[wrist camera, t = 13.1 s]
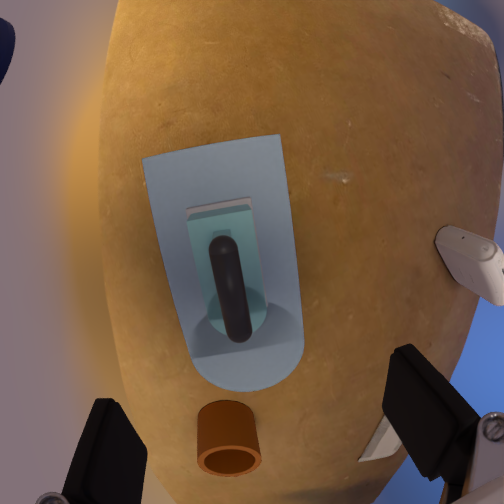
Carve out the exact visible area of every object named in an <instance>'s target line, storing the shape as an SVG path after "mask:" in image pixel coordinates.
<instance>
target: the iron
mask: <svg viewBox="0 0 504 504" xmlns="http://www.w3.org/2000/svg"><path fill="white" fill-rule="evenodd" d="M186 215H187V221H186V222H187V227H188V232H189V237H190V242H191V246H192V251H193V256H194V260H195V265H196V269H197V273H198V278H199V282H200V286H201V290H202V295H203V299H204V303H205V307H206V311H207V315H208V319H209V321H210V323H211V324H212V326H213V327H214V328H215V329H216V330H217V331H219V332H221V333H223V334H225V335H227V336H228V338H229V339H230V340H231V341H233V342H235V343H244V342H246V341H247V340H249V338H250V337H251V335H252V332H254V331H256V330H257V329H258V328H259V327H260V326H261V325H262V323H263V322H264V320H265V317H266V314H267V307H268V304H267V297H266V290H265V284H264V277H263V271H262V264H261V258H260V251H259V245H258V238H257V232H256V225H255V219H254V213H253V206H252V200H251V197H243V198H237V199H232V200H226V201H220V202H215V203H209V204H204V205H199V206H193V207H188V208H186Z"/></svg>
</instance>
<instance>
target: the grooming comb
mask: <svg viewBox="0 0 504 504" xmlns="http://www.w3.org/2000/svg"><path fill="white" fill-rule="evenodd" d="M384 417H386V416H385V415H384ZM384 417H383V418H382V419H384V420H381V421H382V422H381V423H380V424H381V425H379V427H380V428H377V429H378V431H375V432H376V434H374V436H375V437H373V438H372V439H373V440H371V441H370V444H368V445H367V448H368V450H367V449H365V450H364V451H365V454H362V458H360V459H359V461H358V462H361V461H367V460H374V459H378V458H383V457H386V456H390V455H392V454H393V453H395V452H396V451H397V450H398V448H399V447H400V445H401V444H402V442H401V440H400V439H399V437H398V435H397V434H396V432H395V430H394V429H393V427H392V425H391V424H390V422H389V421H388V419H387V417H386V418H384Z"/></svg>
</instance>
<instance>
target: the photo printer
mask: <svg viewBox="0 0 504 504" xmlns="http://www.w3.org/2000/svg"><path fill="white" fill-rule="evenodd" d="M435 244H436V246H437V249H438V251H439V253H440V255H441V257H442V258H443V260H444V262H445V264H446V266H447V268H448V269H449V271H450V273H451V275H452V276H453V278H454V279H455V280H456V281H457V282H458V283H459V284H461V285H463V286H464V287H466V288H468V289H469V290H471V291H472V292H474V293H476V294H477V295H479V296H481V297H482V298H484V299H485V300H487V301H489V302H490V303H492V304H493V305H496V306H503V305H504V254H503V252H502V250H501V249H500V247H499V246H498V245H497V244H496V243H495V242H494V241H492V240H489V239H487V238H484V237H482V236H479V235H476V234H473V233H471V232H468V231H465V230H462V229H460V228H457V227H454V226H451V225H448V226H447V227H443V228H441V229H440V230H439V232H438V233H437V235H436V241H435Z"/></svg>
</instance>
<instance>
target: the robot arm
mask: <svg viewBox="0 0 504 504" xmlns="http://www.w3.org/2000/svg"><path fill="white" fill-rule="evenodd" d="M382 409H383V412H384V414H385V416H386V417H387V419H388V421H389V422H390V424H391V425H392V427H393V429H394V430H395V432H396V434H397V435H398V437H399V439H400V440H401V442H402V443H403V445H404V447H405V448H406V450H407V452H408V453H409V455H410V457H411V458H412V460H413V462H414V463H415V465H416V467H417V468H418V470H419V472H420V473H421V475H422V476H423V477H428V479H429V481H432V480H434V479H436V478H438V477H440V476H441V477H442V478H443V480H444V481H445V484H444V488H443V492H442V495H441V499H440V502H439V504H504V413H501V412H490V413H488V414H486V415H484V416H483V417H482V418H481V417H480V416H479V415H478V414H477V413H476V412H475V411H474V409H473V408H472V407H471V406H470V405H469V404H468V403H467V402H466V400H465V399H464V398H463V397H462V396H461V395H460V394H459V393H458V392H457V390H456V389H455V388H454V387H453V386H452V385H451V384H450V383H449V382H448V381H447V380H446V378H445V377H444V376H443V375H442V374H441V373H440V372H438V371H437V370H436V369H435V367H434V366H433V365H432V364H431V363H430V362H429V361H428V360H427V359H426V358H425V357H424V356H423V355H422V354H421V353H420V352H419V351H418V350H417V349H416V348H415V346H414V345H412V344H410V343H409V344H406V345H404V346H401V347H398V348H396V349H395V350H394V353H393V354H391V356H390V362H389V369H388V375H387V381H386V387H385V392H384V397H383V403H382ZM147 455H148V453H147V448H146V446H145V445H144V443H143V442H142V440H141V439H140V437H139V436H138V434H137V433H136V431H135V429H134V428H133V426H132V424H131V423H130V421H129V420H128V418H127V416H126V414H125V412H124V411H123V409H122V407H121V405H120V404H119V403H118V402H115V401H114V399H112V398H97V399H96V400H95V402H94V404H93V407H92V409H91V412H90V414H89V417H88V419H87V422H86V425H85V427H84V430H83V433H82V435H81V437H80V440H79V442H78V445H77V448H76V451H75V454H74V457H73V459H72V462H71V465H70V468H69V472H68V474H67V477H66V481H65V484H64V487H63V490H62V493H61V494H59V493H56V492H48V493H45V494H43V495H41V496H40V497H39V498H38V500H37V501H36V504H141V499H142V491H143V483H144V475H145V469H146V462H147Z"/></svg>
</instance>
